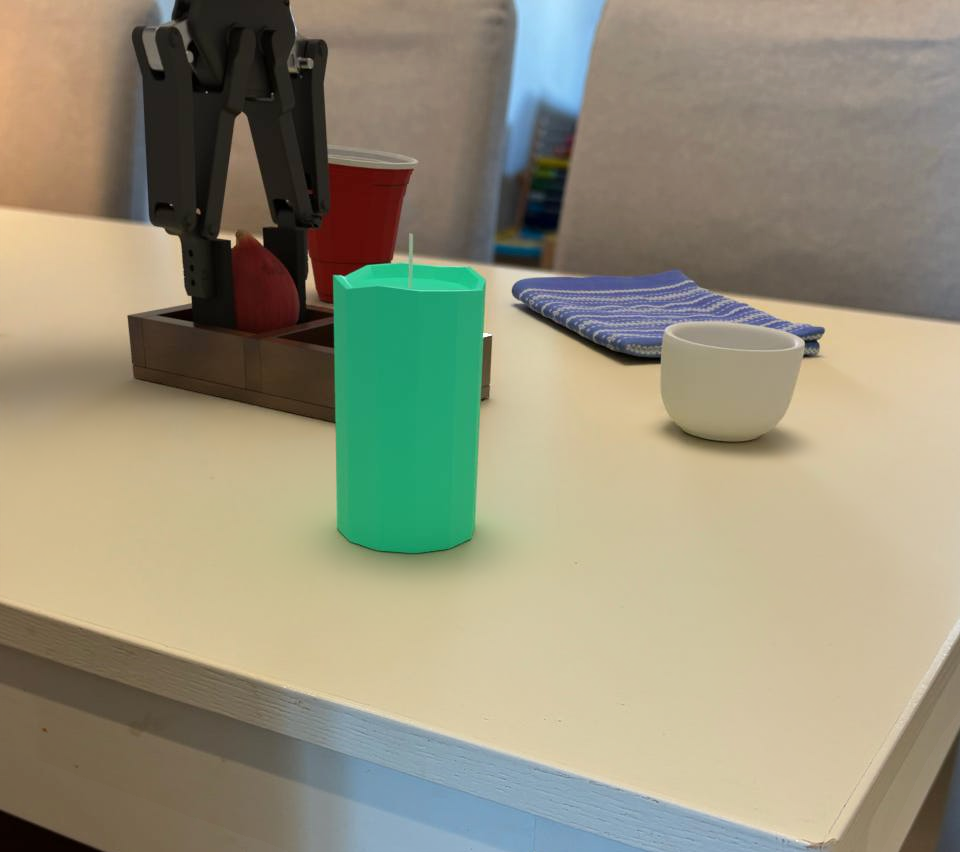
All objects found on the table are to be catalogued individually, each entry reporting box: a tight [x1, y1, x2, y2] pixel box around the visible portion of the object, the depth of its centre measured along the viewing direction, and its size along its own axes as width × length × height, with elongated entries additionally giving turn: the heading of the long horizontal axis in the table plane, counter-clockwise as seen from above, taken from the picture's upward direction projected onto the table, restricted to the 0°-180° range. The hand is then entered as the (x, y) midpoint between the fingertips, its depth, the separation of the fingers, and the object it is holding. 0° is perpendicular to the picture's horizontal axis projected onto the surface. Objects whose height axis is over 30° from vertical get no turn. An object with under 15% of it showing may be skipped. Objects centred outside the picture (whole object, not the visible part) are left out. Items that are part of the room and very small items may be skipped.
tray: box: [126, 302, 493, 423], centre depth 67 cm, size 20×10×4 cm, turn 59°
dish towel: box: [511, 269, 826, 358], centre depth 89 cm, size 17×24×3 cm
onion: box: [231, 228, 300, 334], centre depth 68 cm, size 6×6×8 cm
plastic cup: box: [307, 144, 420, 304], centre depth 93 cm, size 11×11×12 cm
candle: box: [333, 233, 487, 554], centre depth 45 cm, size 6×6×12 cm
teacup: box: [659, 322, 805, 442], centre depth 63 cm, size 10×8×5 cm
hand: (253, 342), depth 69 cm, fingers closed on onion, 6 cm apart
